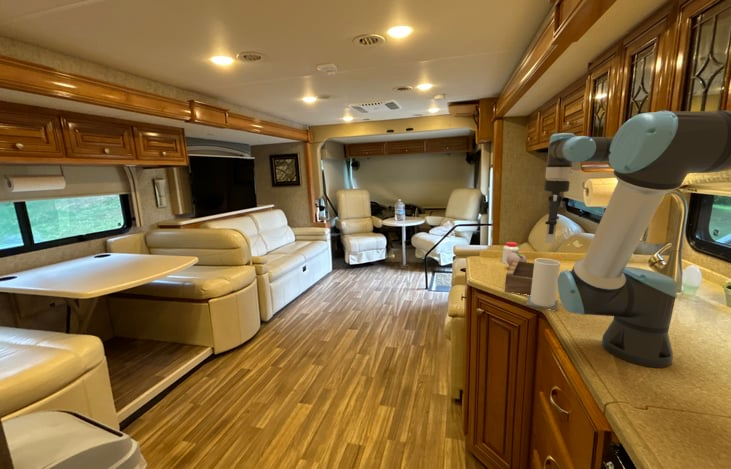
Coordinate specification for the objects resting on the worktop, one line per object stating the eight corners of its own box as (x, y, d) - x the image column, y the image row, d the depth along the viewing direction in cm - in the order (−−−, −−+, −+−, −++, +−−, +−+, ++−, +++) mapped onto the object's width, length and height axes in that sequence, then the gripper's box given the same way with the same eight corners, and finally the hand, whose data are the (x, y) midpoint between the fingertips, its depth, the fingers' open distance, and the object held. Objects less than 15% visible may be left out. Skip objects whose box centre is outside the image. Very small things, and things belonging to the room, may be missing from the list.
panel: (557, 311, 117) (557, 310, 117) (526, 305, 122) (526, 304, 122) (557, 302, 125) (557, 300, 125) (528, 296, 130) (528, 295, 130)
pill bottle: (500, 263, 177) (502, 243, 174) (503, 260, 183) (505, 240, 181) (515, 265, 172) (517, 245, 170) (518, 262, 178) (520, 242, 176)
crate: (548, 299, 128) (551, 280, 126) (504, 291, 136) (506, 273, 134) (550, 280, 150) (552, 263, 148) (512, 274, 158) (514, 258, 156)
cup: (551, 308, 118) (556, 265, 115) (527, 302, 123) (531, 261, 120) (557, 302, 124) (562, 261, 121) (533, 296, 129) (538, 256, 126)
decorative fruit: (501, 267, 169) (503, 248, 167) (515, 266, 171) (517, 247, 169) (514, 273, 160) (516, 253, 158) (528, 271, 162) (530, 252, 160)
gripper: (570, 181, 102) (562, 247, 106) (569, 179, 123) (562, 234, 127) (543, 180, 106) (536, 245, 110) (546, 178, 127) (540, 232, 131)
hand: (550, 239), depth 119 cm, fingers open, 13 cm apart
